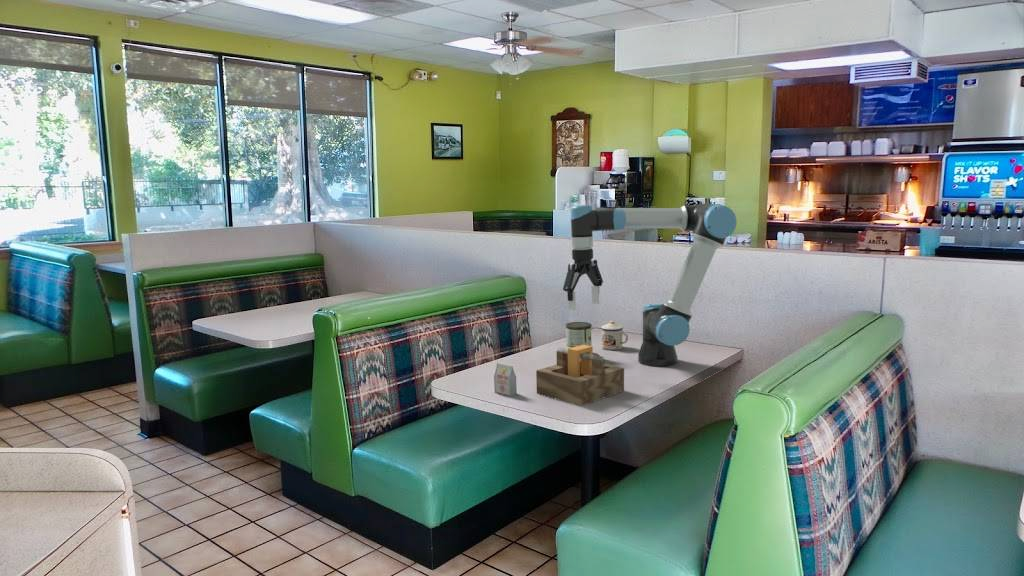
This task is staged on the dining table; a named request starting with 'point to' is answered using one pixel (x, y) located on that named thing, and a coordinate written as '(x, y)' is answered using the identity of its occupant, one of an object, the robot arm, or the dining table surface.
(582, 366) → the orange u-shaped bracket
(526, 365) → the dining table surface
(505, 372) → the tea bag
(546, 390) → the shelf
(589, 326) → the coffee can
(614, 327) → the teacup with lid
